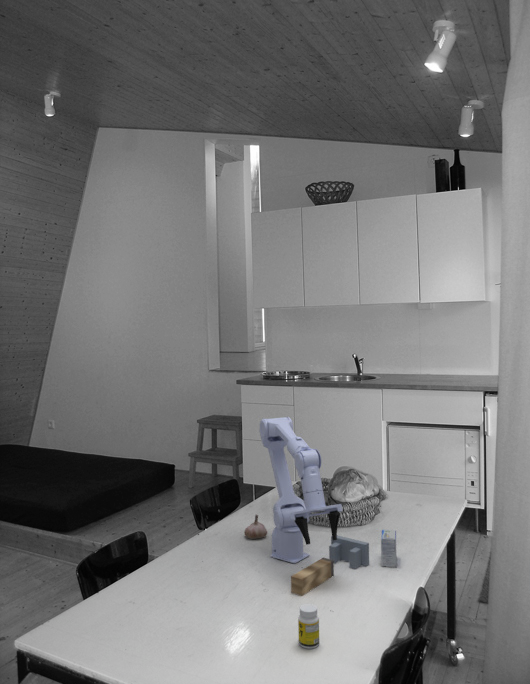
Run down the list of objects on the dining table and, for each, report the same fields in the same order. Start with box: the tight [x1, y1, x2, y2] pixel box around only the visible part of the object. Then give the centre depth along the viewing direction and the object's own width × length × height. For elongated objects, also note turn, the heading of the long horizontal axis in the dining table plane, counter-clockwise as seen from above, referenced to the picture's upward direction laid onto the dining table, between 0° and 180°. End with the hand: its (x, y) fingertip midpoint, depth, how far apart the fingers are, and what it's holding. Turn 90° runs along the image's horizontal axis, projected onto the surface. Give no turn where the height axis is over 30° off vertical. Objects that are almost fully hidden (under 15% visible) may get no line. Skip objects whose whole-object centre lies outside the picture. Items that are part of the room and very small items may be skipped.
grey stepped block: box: [328, 534, 370, 570], centre depth 189 cm, size 12×6×6 cm, turn 52°
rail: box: [290, 557, 335, 597], centre depth 174 cm, size 16×4×4 cm, turn 142°
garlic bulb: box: [243, 513, 268, 540], centre depth 212 cm, size 8×7×8 cm
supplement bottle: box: [297, 603, 320, 649], centre depth 143 cm, size 5×5×8 cm
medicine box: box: [380, 529, 398, 568], centre depth 188 cm, size 8×4×9 cm, turn 168°
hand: (321, 542), depth 173 cm, fingers open, 7 cm apart
